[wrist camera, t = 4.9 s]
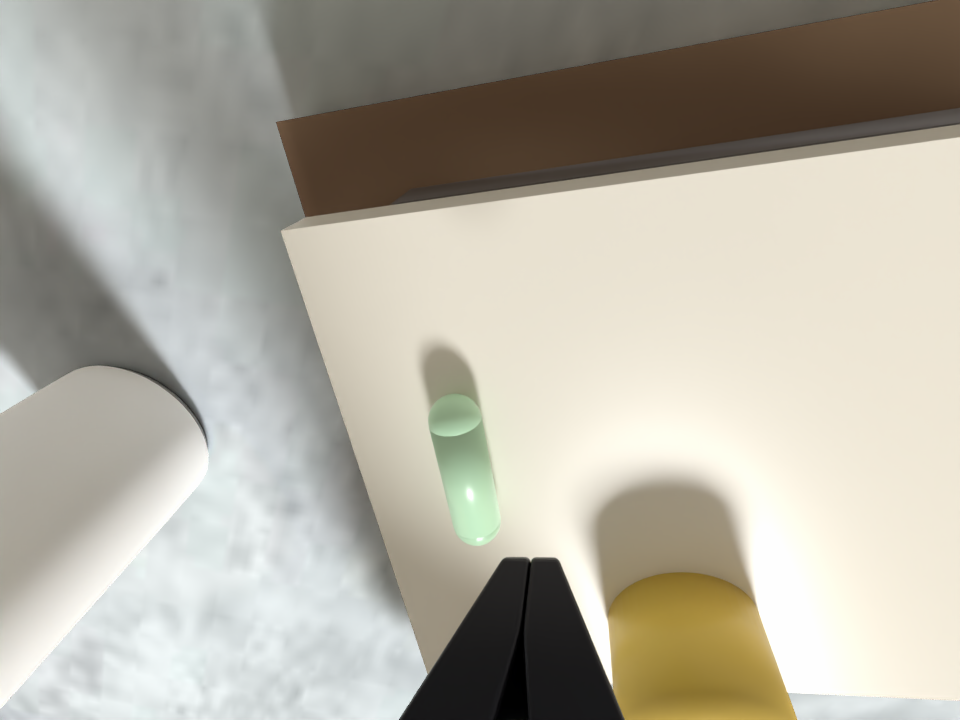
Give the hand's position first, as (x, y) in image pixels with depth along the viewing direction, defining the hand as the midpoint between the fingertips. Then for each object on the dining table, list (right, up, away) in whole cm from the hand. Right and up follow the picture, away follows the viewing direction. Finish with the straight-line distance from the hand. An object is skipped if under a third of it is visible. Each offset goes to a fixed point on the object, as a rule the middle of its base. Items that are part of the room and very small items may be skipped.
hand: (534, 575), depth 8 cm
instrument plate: (+4, +1, +6) cm, 7 cm away
